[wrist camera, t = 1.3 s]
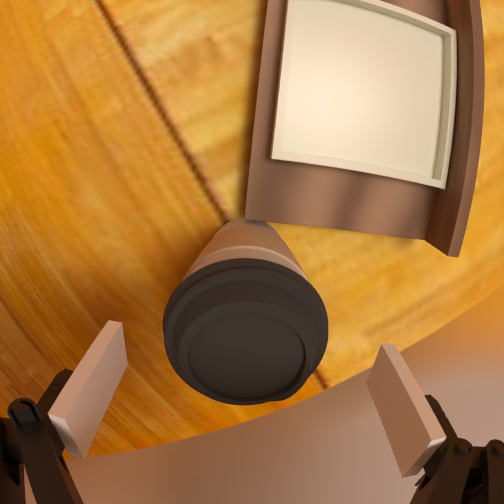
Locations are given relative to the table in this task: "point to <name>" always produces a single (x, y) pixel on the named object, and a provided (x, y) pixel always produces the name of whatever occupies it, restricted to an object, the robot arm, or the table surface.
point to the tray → (366, 90)
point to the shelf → (367, 184)
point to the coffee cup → (245, 319)
